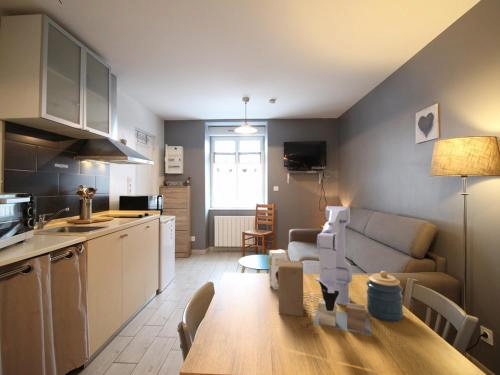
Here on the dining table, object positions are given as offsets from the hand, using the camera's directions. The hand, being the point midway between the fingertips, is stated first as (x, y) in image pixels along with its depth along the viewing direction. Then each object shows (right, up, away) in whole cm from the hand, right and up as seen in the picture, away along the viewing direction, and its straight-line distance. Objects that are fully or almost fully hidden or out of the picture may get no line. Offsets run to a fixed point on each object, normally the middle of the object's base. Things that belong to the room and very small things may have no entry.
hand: (328, 305), depth 85 cm
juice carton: (-13, -11, +41) cm, 44 cm away
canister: (+27, -10, +12) cm, 32 cm away
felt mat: (+8, -10, +8) cm, 15 cm away
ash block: (+2, -10, +6) cm, 11 cm away
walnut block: (+11, -10, +2) cm, 15 cm away
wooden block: (-10, -11, +16) cm, 22 cm away
